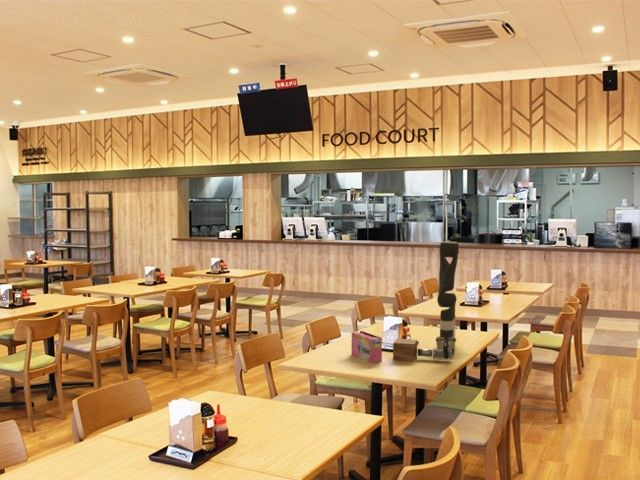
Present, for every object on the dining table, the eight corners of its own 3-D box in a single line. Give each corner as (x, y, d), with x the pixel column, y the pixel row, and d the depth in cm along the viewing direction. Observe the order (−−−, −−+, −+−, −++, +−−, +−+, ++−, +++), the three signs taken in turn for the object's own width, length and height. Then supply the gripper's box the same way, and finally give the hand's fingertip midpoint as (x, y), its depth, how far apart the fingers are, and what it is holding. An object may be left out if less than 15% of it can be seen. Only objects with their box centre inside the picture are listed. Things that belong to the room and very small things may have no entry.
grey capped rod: (418, 356, 382) (418, 346, 382) (451, 358, 377) (451, 348, 376) (417, 358, 376) (417, 348, 376) (450, 360, 371) (450, 350, 371)
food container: (455, 352, 395) (455, 336, 394) (456, 355, 389) (456, 338, 388) (434, 352, 396) (434, 335, 396) (435, 354, 390) (435, 337, 390)
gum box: (349, 354, 393) (349, 331, 392) (361, 352, 396) (361, 330, 395) (370, 363, 371) (370, 339, 370) (382, 361, 375) (382, 337, 374)
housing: (396, 355, 389) (396, 338, 388) (417, 356, 385) (417, 339, 385) (393, 360, 377) (393, 342, 377) (414, 361, 374) (414, 344, 373)
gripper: (441, 325, 381) (441, 354, 382) (438, 330, 368) (438, 360, 369) (454, 326, 379) (454, 355, 380) (452, 331, 366) (452, 361, 367)
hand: (446, 357), depth 375 cm, fingers open, 4 cm apart
